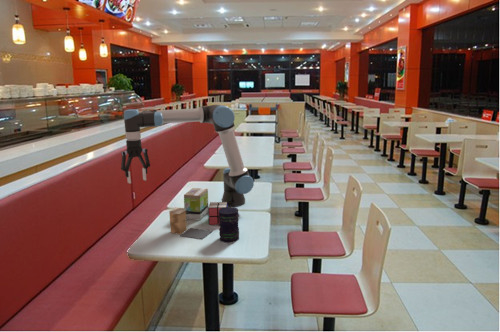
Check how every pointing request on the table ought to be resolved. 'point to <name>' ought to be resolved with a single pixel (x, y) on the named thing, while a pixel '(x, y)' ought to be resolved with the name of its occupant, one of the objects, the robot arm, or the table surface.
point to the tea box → (196, 203)
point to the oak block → (178, 220)
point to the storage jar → (229, 224)
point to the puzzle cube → (215, 212)
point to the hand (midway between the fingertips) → (137, 181)
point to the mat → (196, 233)
